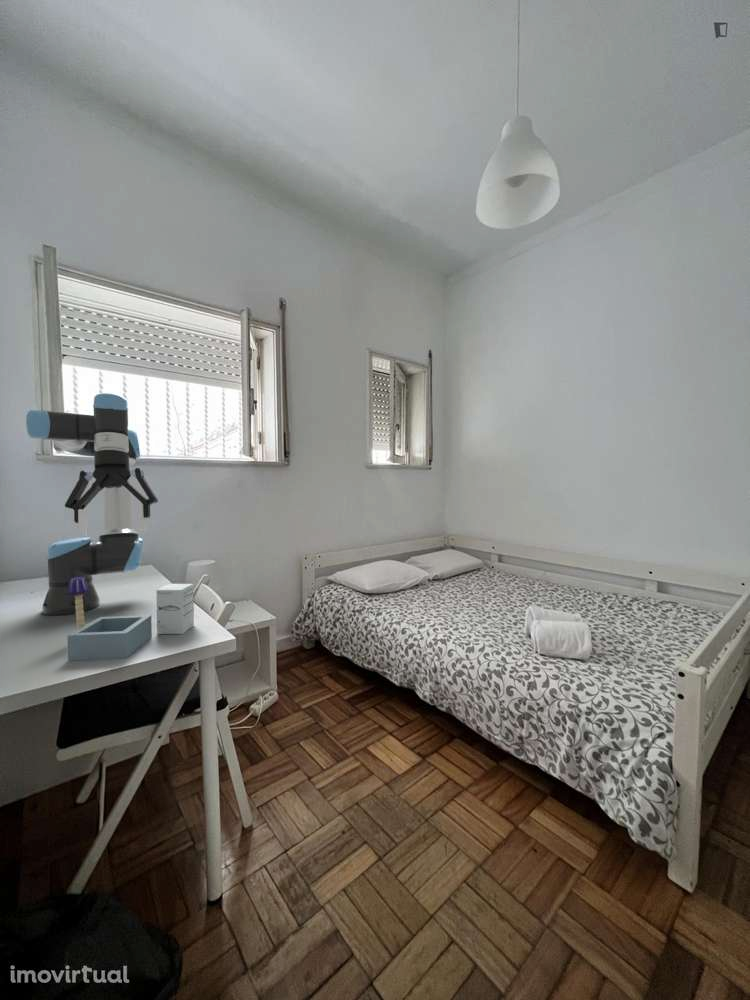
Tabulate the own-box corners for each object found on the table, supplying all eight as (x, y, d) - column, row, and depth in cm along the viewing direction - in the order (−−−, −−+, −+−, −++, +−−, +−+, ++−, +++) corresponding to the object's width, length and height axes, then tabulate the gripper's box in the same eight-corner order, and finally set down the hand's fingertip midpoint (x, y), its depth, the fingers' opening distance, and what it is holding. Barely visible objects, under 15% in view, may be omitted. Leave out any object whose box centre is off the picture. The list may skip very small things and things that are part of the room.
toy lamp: (70, 644, 101) (68, 580, 100) (67, 639, 104) (65, 578, 104) (92, 639, 104) (91, 577, 104) (88, 634, 108) (87, 574, 107)
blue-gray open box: (100, 639, 104) (100, 617, 104) (151, 636, 106) (151, 615, 106) (68, 660, 91) (67, 635, 91) (126, 657, 93) (126, 633, 93)
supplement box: (155, 634, 107) (154, 589, 107) (170, 625, 115) (169, 582, 114) (182, 634, 107) (181, 589, 107) (195, 625, 115) (194, 582, 114)
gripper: (47, 450, 95) (47, 537, 92) (160, 446, 101) (163, 527, 98) (64, 458, 102) (64, 538, 99) (168, 454, 108) (171, 529, 105)
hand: (113, 533), depth 99 cm, fingers open, 13 cm apart
